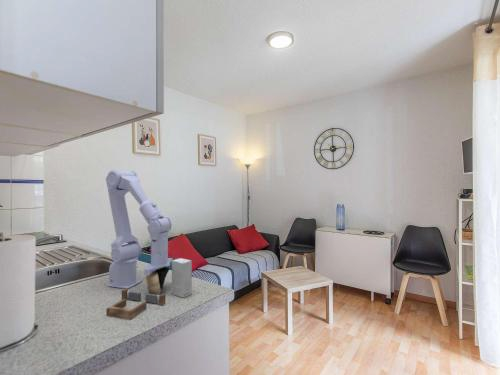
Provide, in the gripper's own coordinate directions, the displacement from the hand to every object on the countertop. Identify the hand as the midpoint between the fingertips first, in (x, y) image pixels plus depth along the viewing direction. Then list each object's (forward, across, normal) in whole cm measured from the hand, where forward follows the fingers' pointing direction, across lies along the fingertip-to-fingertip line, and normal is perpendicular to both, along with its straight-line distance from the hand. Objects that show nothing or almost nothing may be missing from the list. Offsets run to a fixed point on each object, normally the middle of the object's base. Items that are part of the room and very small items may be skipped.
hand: (159, 288), depth 95 cm
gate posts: (+1, -9, 0) cm, 9 cm away
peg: (0, -2, 0) cm, 3 cm away
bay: (+1, -15, 0) cm, 15 cm away
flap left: (+1, -9, +4) cm, 10 cm away
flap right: (+1, -9, -4) cm, 10 cm away
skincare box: (+1, 0, -9) cm, 9 cm away
